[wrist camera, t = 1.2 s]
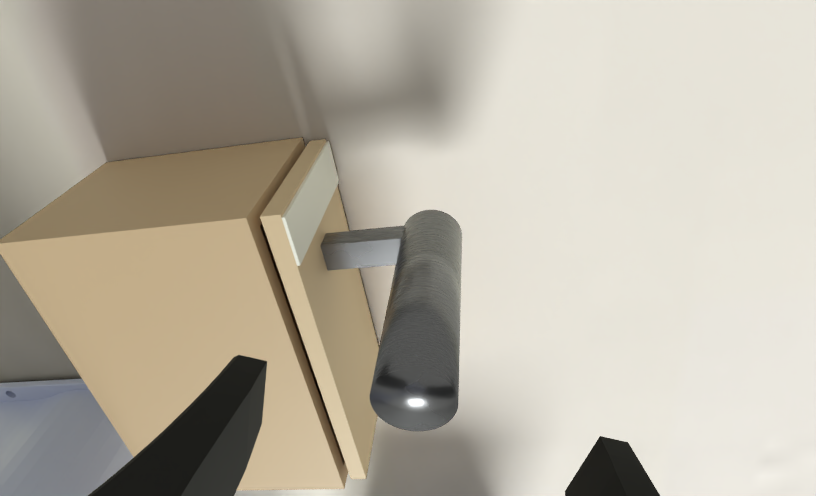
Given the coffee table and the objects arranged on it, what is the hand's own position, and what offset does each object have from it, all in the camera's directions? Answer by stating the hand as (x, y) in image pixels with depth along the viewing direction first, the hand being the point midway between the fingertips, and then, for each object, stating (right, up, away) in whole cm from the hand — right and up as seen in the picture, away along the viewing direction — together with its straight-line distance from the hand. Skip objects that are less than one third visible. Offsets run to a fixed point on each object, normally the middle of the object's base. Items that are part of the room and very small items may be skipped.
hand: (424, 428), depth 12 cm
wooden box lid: (0, +3, +11) cm, 11 cm away
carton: (-7, +3, +12) cm, 14 cm away
